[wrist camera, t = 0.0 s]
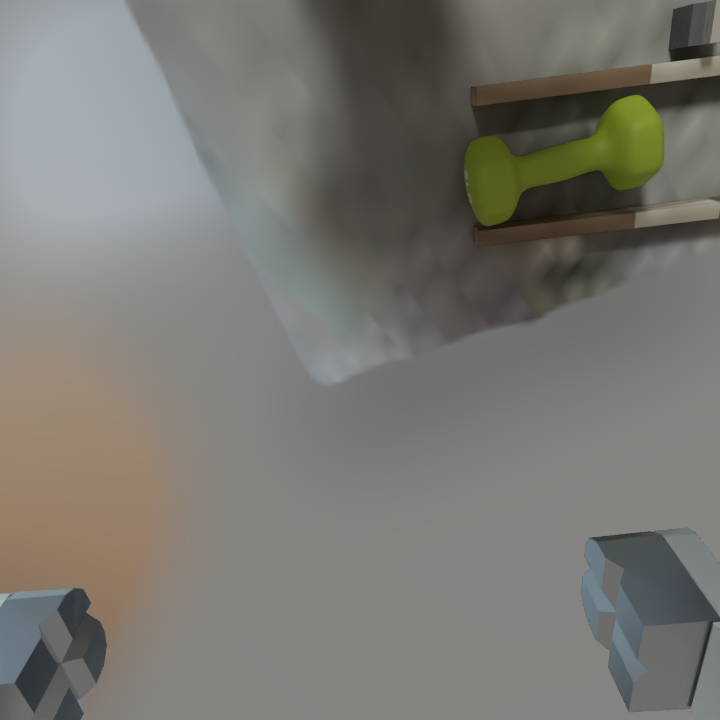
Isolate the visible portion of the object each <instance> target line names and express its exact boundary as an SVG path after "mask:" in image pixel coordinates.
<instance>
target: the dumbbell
mask: <svg viewBox="0 0 720 720" xmlns="http://www.w3.org/2000/svg"><path fill="white" fill-rule="evenodd" d="M663 160H664V129H663V124H662V120H661V118H660V116H659V114H658V113H657V111H656V110H655V109H654V108H653V106H652V105H651V104H650V103H649V102H648V101H647V100H646V99H645V98H644V97H643V96H640V95H632V96H628V97H625V98H622V99H619V100H617V101H615V102H614V103H613V104H612V105H610V106H609V108H608V109H607V110H606V111H605V113H604V114H603V115H602V117H601V119H600V121H599V123H598V125H597V128H596V133H595V134H594V135H593V136H591V137H589V138H586V139H581V140H576V141H572V142H568V143H564V144H560V145H556V146H552V147H549V148H546V149H543V150H539V151H536V152H533V153H531V154H528V155H525V156H515V155H513V154H512V153H511V152H510V151H509V149H508V148H507V146H506V145H505V143H504V142H503V141H502V140H501V139H500V138H498V137H496V136H486V137H482V138H479V139H476V140H474V141H472V142H471V143H470V144H469V146H468V148H467V151H466V155H465V160H464V179H465V186H466V191H467V195H468V198H469V202H470V204H471V207H472V209H473V212H474V214H475V216H476V218H477V219H478V221H479V222H480V223H481V224H483V225H485V226H491V225H495V224H499V223H502V222H504V221H506V220H508V219H509V218H510V217H511V216H512V214H513V213H514V210H515V208H516V206H517V203H518V200H519V197H520V195H521V194H522V193H523V192H524V191H525V190H526V189H528V188H531V187H535V186H541V185H546V184H550V183H555V182H560V181H563V180H567V179H570V178H573V177H576V176H579V175H582V174H584V173H587V172H591V171H601V172H602V173H603V175H604V177H605V178H606V180H607V181H608V182H609V184H610V185H611V186H612V187H613V188H615V189H617V190H628V189H632V188H636V187H639V186H642V185H643V184H645V183H646V182H648V181H649V180H650V179H651V178H652V177H653V176H655V175H656V173H657V172H658V171H659V170H660V168H661V167H662V164H663Z"/></svg>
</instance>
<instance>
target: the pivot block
mask: <svg viewBox="0 0 720 720" xmlns="http://www.w3.org/2000/svg"><path fill="white" fill-rule="evenodd" d="M713 43H720V0H713V1H710V2H704V3H697V4H692V5H688V6H684V7H681V8H677V9H674V10H673V18H672V26H671V35H670V43H669V49H676V48H683V47H691V46H699V45H706V44H713Z"/></svg>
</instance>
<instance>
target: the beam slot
mask: <svg viewBox="0 0 720 720" xmlns="http://www.w3.org/2000/svg"><path fill="white" fill-rule="evenodd" d="M717 75H720V56H712V57H704V58H696V59H689V60H681V61H673V62H665V63H657V64H650V65H642V66H634V67H626V68H618V69H611V70H603V71H595V72H587V73H579V74H571V75H564V76H556V77H548V78H540V79H532V80H525V81H517V82H509V83H501V84H493V85H486V86H478V87H471V106H481V105H489V104H496V103H504V102H512V101H520V100H528V99H536V98H544V97H552V96H560V95H567V94H575V93H583V92H591V91H599V90H607V89H615V88H623V87H631V86H638V85H646V84H654V83H662V82H670V81H678V80H686V79H694V78H702V77H709V76H717ZM717 218H720V197H712V198H704V199H695V200H687V201H678V202H670V203H662V204H653V205H645V206H636V207H628V208H619V209H611V210H603V211H594V212H586V213H577V214H569V215H560V216H552V217H543V218H535V219H527V220H518V221H510V222H502V223H499V224H495V225H491V226H485V225H476V226H474V241H475V242H476V243H477V244H478V246H487V245H495V244H504V243H512V242H521V241H529V240H538V239H546V238H555V237H563V236H572V235H581V234H589V233H598V232H606V231H615V230H623V229H632V228H640V227H649V226H657V225H666V224H675V223H683V222H692V221H700V220H709V219H717Z"/></svg>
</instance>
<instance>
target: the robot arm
mask: <svg viewBox="0 0 720 720" xmlns="http://www.w3.org/2000/svg"><path fill="white" fill-rule="evenodd" d="M584 556H585V558H586V560H587V562H588V564H589V566H590V569H589V570H588V571H587V572H586V574H584V575H583V576H582V598H583V604H584V610H585V613H586V617H587V619H588V622H589V625H590V628H591V630H592V632H593V634H594V637H595V639H596V640H597V641H598V642H600V643H601V644H602V645H603V646H605V647H606V648H607V649H609V650H610V657H609V665H608V668H609V670H610V672H611V674H612V677H613V679H614V681H615V683H616V685H617V687H618V690H619V692H620V694H621V696H622V698H623V700H624V702H625V705H626V707H627V709H628V711H629V712H642V711H659V710H678V709H691V710H690V712H691V714H692V715H694V716H695V717H696V718H697V719H698V720H720V562H719V561H718V560H717V558H716V557H715V556H714V555H713V553H712V552H711V551H710V550H709V548H708V547H707V546H706V545H705V544H704V542H703V541H702V540H701V538H700V537H699V536H698V535H697V534H696V532H694V531H693V530H691V529H689V528H679V529H670V530H660V531H654V532H650V531H648V532H639V533H630V534H620V535H611V536H602V537H592V538H589V539H588V541H587V542H586V546H585V554H584ZM90 604H91V602H90V600H89V598H88V597H87V595H86V593H85V591H84V590H83V589H79V588H69V589H54V590H40V591H26V592H16V593H4V594H0V720H81V718H82V716H83V714H84V712H83V708H82V704H81V698H82V697H83V696H84V695H85V694H86V693H87V692H89V690H91V689H92V688H93V687H94V686H95V685H96V684H97V681H98V679H99V676H100V674H101V671H102V669H103V667H104V661H105V655H106V648H107V644H106V636H105V631H104V629H103V627H102V625H101V623H100V621H98V620H97V619H95V618H94V617H92V616H90V615H89V614H87V610H88V608H89V606H90Z"/></svg>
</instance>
